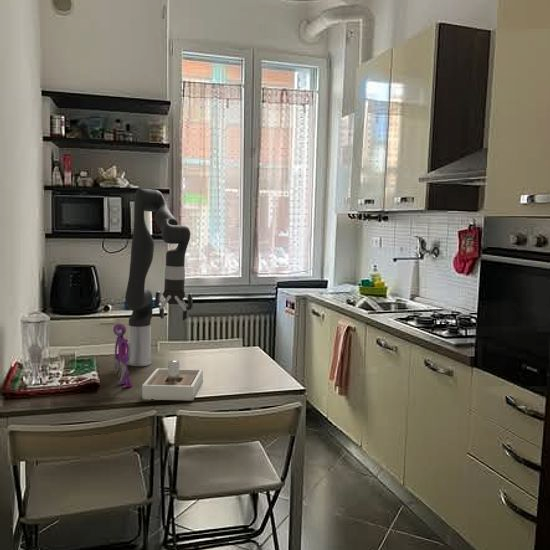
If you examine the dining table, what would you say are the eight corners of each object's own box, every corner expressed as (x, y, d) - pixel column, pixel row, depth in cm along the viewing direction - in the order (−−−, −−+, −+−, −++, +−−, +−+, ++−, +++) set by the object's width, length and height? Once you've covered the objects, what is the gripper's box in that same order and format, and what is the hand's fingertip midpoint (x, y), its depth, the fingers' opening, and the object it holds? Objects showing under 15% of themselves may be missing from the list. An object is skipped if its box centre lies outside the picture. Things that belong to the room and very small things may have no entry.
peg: (167, 388, 209) (167, 362, 208) (169, 385, 213) (169, 359, 212) (178, 389, 209) (177, 362, 208) (180, 385, 213) (180, 359, 212)
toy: (103, 382, 219) (102, 321, 216) (121, 379, 223) (120, 319, 220) (119, 393, 206) (118, 328, 204) (137, 390, 210) (136, 326, 208)
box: (142, 399, 200) (142, 385, 200) (156, 380, 222) (156, 368, 222) (193, 400, 200) (193, 386, 199) (202, 381, 222) (202, 369, 221)
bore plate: (150, 393, 204) (150, 384, 204) (159, 381, 218) (159, 373, 218) (189, 393, 204) (189, 385, 203) (195, 382, 218) (195, 374, 217)
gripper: (153, 277, 213) (152, 320, 215) (191, 280, 212) (189, 322, 214) (159, 275, 220) (157, 316, 222) (195, 277, 220) (193, 318, 222)
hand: (173, 319), depth 218 cm, fingers open, 8 cm apart
